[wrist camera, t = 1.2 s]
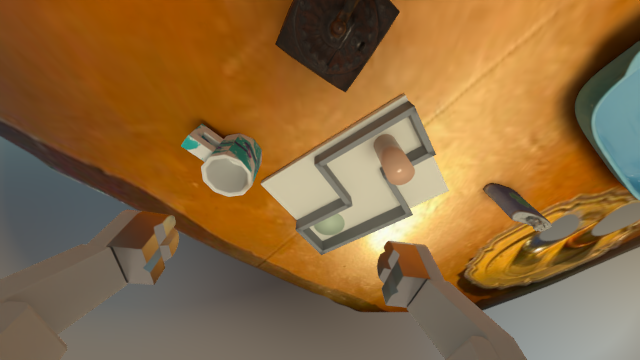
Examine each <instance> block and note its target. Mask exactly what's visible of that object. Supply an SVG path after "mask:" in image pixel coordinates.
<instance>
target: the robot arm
mask: <svg viewBox="0 0 640 360" xmlns="http://www.w3.org/2000/svg"><path fill="white" fill-rule="evenodd" d="M175 224H176V222H175V218H174V216H171V215H164V214H157V213H150V212H143V211H134V210H125V211H122V212H121V213H120V214H119V215H118V216H117V217H116V218H115V219H114V220H112V221H111V223H109V224H108V225H107V226H106V227H105V228H104V229H103V230H102V231H101V232H100V233H99V234H97V236H95V237H94V238H93V239H92V240H91V241H90V242H89V243H88V244H87V245H83V244H81V245H79V246H76V247H74V248H72V249H69V250H67V251H65V252H62V253H60V254H58V255H56V256H53V257H51V258H49V259H46V260H44V261H42V262H40V263H37V264H35V265H32V266H30V267H28V268H26V269H23V270H21V271H19V272H16V273H14V274H12V275H9V276H7V277H5V278H2V279H0V360H60V359H61V357H62V356H63V355H64V353H65V352H66V351H67V345H66V344H65V343H64V341H63V340H62V339H61V338H60V337H59V336H58V334H59V333H60V332H62V331H63V330H65V329H66V328H67V327H69V326H70V325H71V324H73V323H74V322H76V321H77V320H78V319H80V318H81V317H83V316H84V315H85V314H87V313H88V312H90V311H91V310H92V309H94V308H95V307H97V306H98V305H99V304H100V303H102V302H104V301H105V300H106V299H108V298H109V297H110V296H112V295H113V294H115V293H116V292H118V291H119V290H120V289H122V288H123V287H124V286H126V285H127V283H134V284H150V285H154V284H155V283H156V281H157V280H158V278H159V276H160V275H161V273H162V272H163V270H164V269H165V266H164V262H165V261H166V260H168V259H170V258H171V257H172V256H173V254H174V253H175V251H176V248H177V245H178V240H179V236H178V232H177V231H176V230H175V229H174V228H173V227H174V225H175ZM384 249H385V252H384V253H382V254H380V257H379V259H378V265H377V270H378V276H379V278H380V280H381V281H382V282H383V283H384V285H383V287H382V292H383V296H384V300H385V304H386V305H389V306H398V307H407V310H408V311H409V312H410V314H411V315H412V316H413V317H414V319H415V320H416V321H417V323H418V324H419V325H420V327H421V328H422V329H423V331H424V332H425V333H426V334H427V336H428V337H429V338H430V340H431V341H432V342H433V344H434V345H435V346H436V348H437V349H438V350H439V352H440V353H441V354H442V356H443V357H444V358H445V360H527V359H526V357H525V356H524V354H523V352H522V351H521V349H520V348H519V346H518V345H517V343H516V341H515V340H514V338H513V337H511V336H510V335H509V334H508V333H507V332H506V331H505V330H503V329H502V328H501V327H500V326H499V325H497V323H495V322H494V321H493V320H492V319H491V318H490V317H489V316H487V315H486V314H485V313H484V312H483V311H482V310H481V309H479V308H478V307H477V306H476V305H475V304H474V303H472V302H471V301H470V300H469V299H468V298H467V297H466V296H464V295H463V294H462V293H461V292H460V291H459V290H458V289H456V288H455V287H454V286H453V285H452V284H451V283H450V282H447V281H445V280H444V278H443V276H442V275H441V273H440V271H439V269H438V267H437V265H436V263H435V261H434V259H433V257H432V255H431V253H430V251H429V249H428V247H427V246H426V245H422V244H411V243H404V242H394V241H388V242H387V243H386V244H385V246H384Z"/></svg>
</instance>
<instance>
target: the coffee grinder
mask: <svg viewBox="0 0 640 360" xmlns="http://www.w3.org/2000/svg"><path fill="white" fill-rule="evenodd" d="M398 13H399V10H398V9H397V8H396V7H395V6H394V5H393V3H392V2H391V1H390V0H293V2H292V4H291V6H290V8H289V11H288V13H287V16H286V18H285V21H284V23H283V26H282V29H281V31H280V34H279V36H278V39H277V41H276V45H277V46H278V47H279V48H281V49H282V50H283V51H284V52H286V53H287V54H288V55H290V56H291V57H292V58H294V59H295V60H297V61H298V62H300V63H301V64H303V65H304V66H306V67H307V68H308V69H310V70H311V71H313V72H314V73H316V74H317V75H319V76H320V77H322V78H323V79H324V80H326V81H327V82H329V83H331V84H332V85H334V86H335V87H337V88H339V89H341V90H343V91H344V92H346V91H347V90H348V88H349V87H350V86H351V84H352V83H353V82H354V80H355V79H356V77H357V76H358V75H359V73H360V72H361V70H362V69H363V67H364V66H365V64H366V63H367V61H368V60H369V59H370V57H371V56H372V54H373V53H374V51H375V50H376V48H377V46H378V45H379V44H380V42H381V41H382V39H383V38H384V36H385V35H386V33H387V32H388V30H389V29H390V27H391V25H392V23H393V22H394V20H395V18H396V17H397V15H398Z"/></svg>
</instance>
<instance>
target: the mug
mask: <svg viewBox="0 0 640 360" xmlns="http://www.w3.org/2000/svg"><path fill="white" fill-rule="evenodd" d="M181 146H182V147H183V148H185V149H186V150H188V151H189V152H191V153H192V154H194V155H195V156H197V157H198V158H200V159H201V160H203V161H204V162H205V163H204V164H203V165H202V167H201V170H202V176H203V181H204V182H205V183H206V184H207V185H208V186H209V187H210V188H211V189H212V190H213V191H214V192H217V193H220V194H222V195H225V196H228V197H231V196H238V195H243V194H244V193H245V192H246V191H247V190H248V189H249V188H250V187H251V186H252V184H253V182H254V179H255V177H256V174H257V172H258V170H259V167H260V165H261V162H262V150H261V148H260V147H259V146H258V144H257V143H256V142H255V140H254V139H252V138H250V137H248V136H245V135H243V134H240V133H239V134H233V135H227V136H226V137H225V138H224V139H223V138H221V137H220V136H219V135H217V134H216V133H214V132H213V131H212V130H210V129H209V128H208V127H206V126H205V125H203V124H201V125H200V126H198V127H197V128H196V129H195V130H194V131H193V132H191V133H190V134H189V135H188V136H187V138H186V139H185V141H184V142H183V144H182V145H181Z"/></svg>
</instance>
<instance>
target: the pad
mask: <svg viewBox="0 0 640 360" xmlns="http://www.w3.org/2000/svg"><path fill="white" fill-rule="evenodd" d="M344 225H345V222H344V219H343V217H342V216H341V215H339V214H335V215H333V216H331V217H329V218H327V219H325V220H323V221H321V222H319V223H317V224H315V225H314V227H315V229H316V231H318V232H319V233H321V234H323V235H334V234H337V233H339V232H341V231H342V230H343V228H344Z"/></svg>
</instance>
